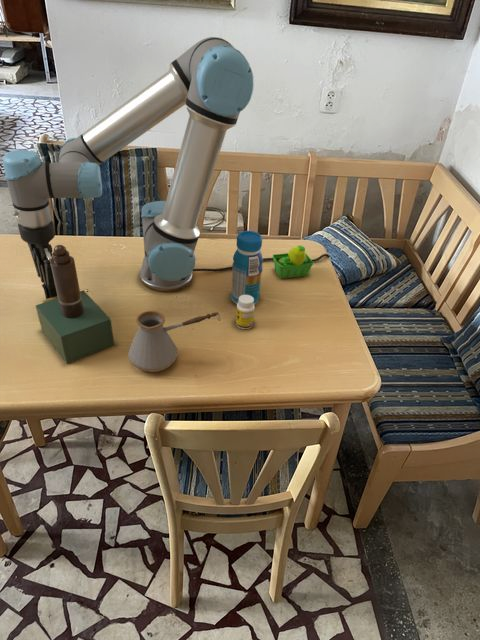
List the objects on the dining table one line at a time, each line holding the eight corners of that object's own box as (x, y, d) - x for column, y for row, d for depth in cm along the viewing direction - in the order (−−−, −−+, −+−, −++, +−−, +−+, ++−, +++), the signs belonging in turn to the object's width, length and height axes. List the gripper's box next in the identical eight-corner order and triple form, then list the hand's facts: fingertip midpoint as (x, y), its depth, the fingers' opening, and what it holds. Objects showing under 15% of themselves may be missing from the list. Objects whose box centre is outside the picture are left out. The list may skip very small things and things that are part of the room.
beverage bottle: (226, 303, 138) (229, 240, 125) (234, 288, 145) (238, 226, 132) (255, 309, 137) (261, 246, 124) (262, 294, 144) (268, 232, 131)
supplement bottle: (235, 318, 133) (236, 293, 128) (252, 319, 134) (254, 293, 128) (235, 329, 129) (237, 303, 124) (253, 330, 130) (256, 304, 125)
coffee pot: (126, 377, 112) (119, 326, 102) (132, 345, 121) (126, 295, 111) (218, 378, 115) (221, 328, 105) (218, 347, 123) (220, 298, 114)
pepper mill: (84, 305, 118) (72, 239, 107) (82, 318, 115) (70, 251, 103) (62, 306, 117) (48, 239, 106) (59, 318, 114) (44, 251, 102)
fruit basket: (302, 265, 159) (307, 233, 151) (313, 279, 152) (319, 247, 145) (269, 268, 155) (273, 236, 148) (280, 283, 149) (284, 250, 142)
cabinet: (42, 331, 122) (35, 305, 117) (88, 315, 128) (83, 290, 123) (66, 363, 114) (60, 336, 109) (114, 345, 120) (110, 319, 115)
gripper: (8, 213, 113) (29, 296, 129) (29, 237, 107) (49, 322, 122) (40, 207, 117) (57, 288, 133) (62, 229, 111) (78, 312, 126)
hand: (53, 304), depth 127 cm, fingers closed
